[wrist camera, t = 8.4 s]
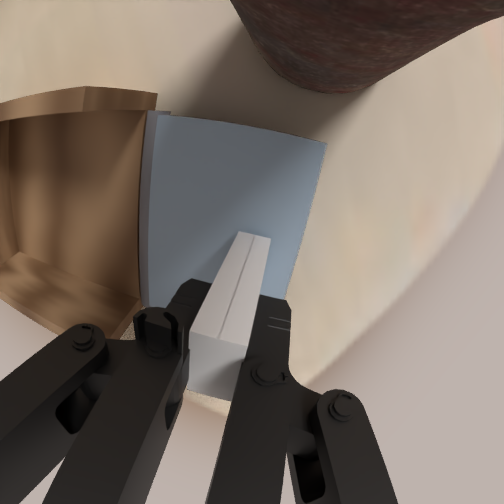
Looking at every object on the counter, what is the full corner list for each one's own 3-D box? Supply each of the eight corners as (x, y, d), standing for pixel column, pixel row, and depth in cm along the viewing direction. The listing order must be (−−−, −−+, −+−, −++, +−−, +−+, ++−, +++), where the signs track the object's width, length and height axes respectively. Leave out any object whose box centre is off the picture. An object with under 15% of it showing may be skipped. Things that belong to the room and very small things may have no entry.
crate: (23, 253, 20) (-18, 284, 14) (13, 106, 13) (-42, 118, 8) (146, 301, 19) (105, 358, 13) (157, 93, 12) (85, 86, 7)
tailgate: (137, 303, 17) (264, 356, 15) (143, 110, 12) (326, 139, 10) (148, 294, 18) (269, 343, 16) (157, 110, 13) (328, 139, 11)
